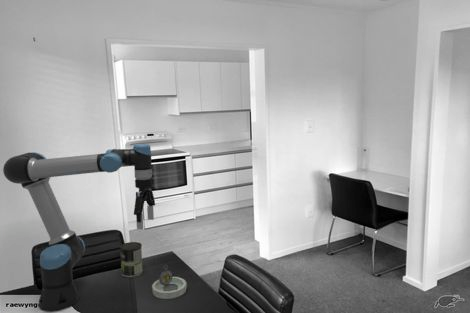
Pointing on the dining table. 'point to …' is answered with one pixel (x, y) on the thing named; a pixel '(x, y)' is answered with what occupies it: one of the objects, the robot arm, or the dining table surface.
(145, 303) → the dining table surface
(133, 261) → the coffee can
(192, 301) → the dining table surface
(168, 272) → the pocket watch
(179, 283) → the dish
